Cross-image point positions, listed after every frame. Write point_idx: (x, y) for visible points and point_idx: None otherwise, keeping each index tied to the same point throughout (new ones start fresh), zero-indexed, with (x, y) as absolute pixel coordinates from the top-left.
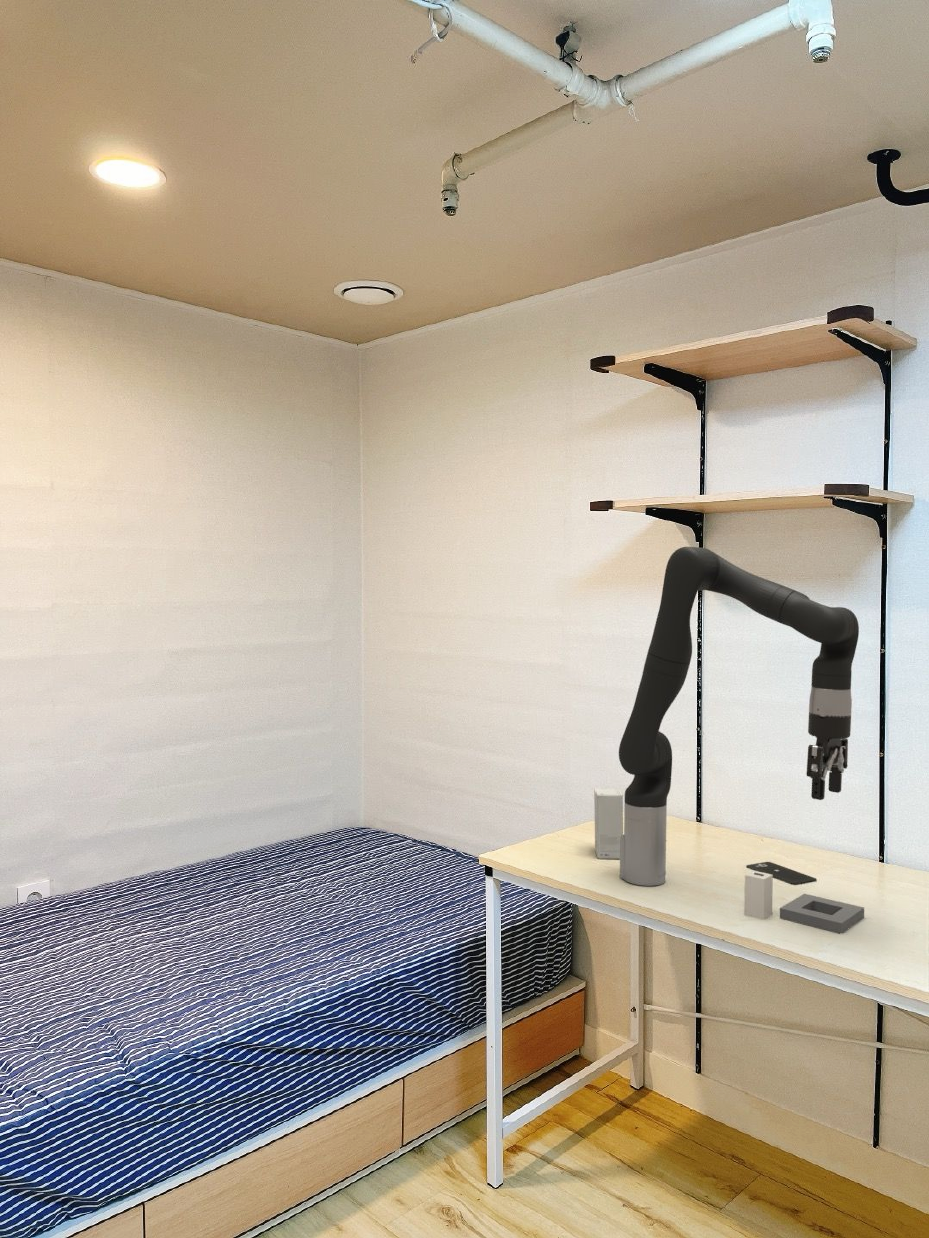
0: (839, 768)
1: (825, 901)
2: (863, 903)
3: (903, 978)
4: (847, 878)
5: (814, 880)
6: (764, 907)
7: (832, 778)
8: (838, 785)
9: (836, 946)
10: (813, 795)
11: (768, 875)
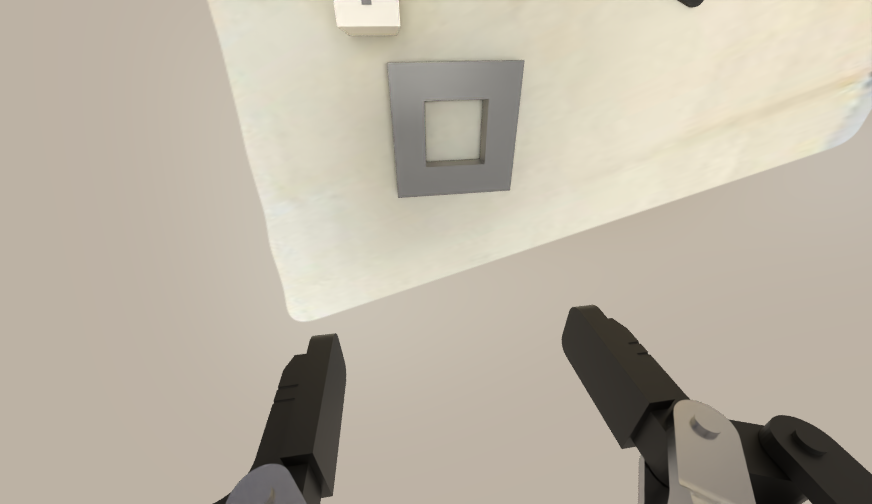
0: (641, 496)
1: (499, 122)
2: (580, 153)
3: (306, 307)
4: (733, 61)
5: (687, 4)
6: (351, 33)
7: (612, 381)
8: (582, 371)
9: (336, 208)
10: (294, 363)
11: (383, 18)
